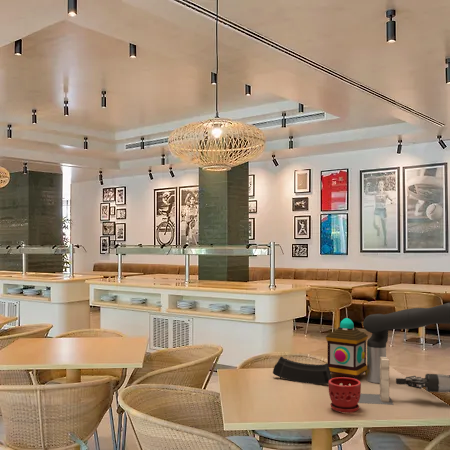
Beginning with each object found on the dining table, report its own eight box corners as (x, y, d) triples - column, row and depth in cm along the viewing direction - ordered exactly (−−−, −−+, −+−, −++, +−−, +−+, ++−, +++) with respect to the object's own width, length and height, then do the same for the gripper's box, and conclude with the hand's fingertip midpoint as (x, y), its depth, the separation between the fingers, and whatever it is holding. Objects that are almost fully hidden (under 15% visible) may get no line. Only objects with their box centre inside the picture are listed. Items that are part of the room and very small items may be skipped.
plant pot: (324, 405, 231) (324, 376, 232) (355, 405, 232) (355, 376, 232) (333, 415, 218) (333, 385, 219) (365, 414, 219) (365, 384, 219)
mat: (338, 393, 249) (338, 392, 249) (388, 396, 246) (388, 394, 246) (340, 403, 234) (340, 402, 234) (393, 406, 231) (393, 404, 231)
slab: (379, 397, 241) (380, 356, 242) (387, 398, 241) (387, 357, 241) (381, 401, 235) (381, 359, 236) (389, 402, 235) (389, 360, 235)
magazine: (338, 367, 263) (283, 343, 277) (336, 368, 260) (280, 344, 274) (328, 400, 265) (273, 374, 279) (325, 401, 262) (271, 375, 276)
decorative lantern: (358, 383, 267) (358, 322, 268) (320, 377, 278) (321, 318, 279) (372, 375, 284) (372, 317, 285) (336, 370, 295) (336, 314, 296)
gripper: (434, 370, 242) (393, 368, 244) (441, 378, 228) (398, 376, 231) (434, 387, 241) (393, 385, 244) (441, 396, 228) (398, 394, 231)
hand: (396, 381), depth 237 cm, fingers closed
